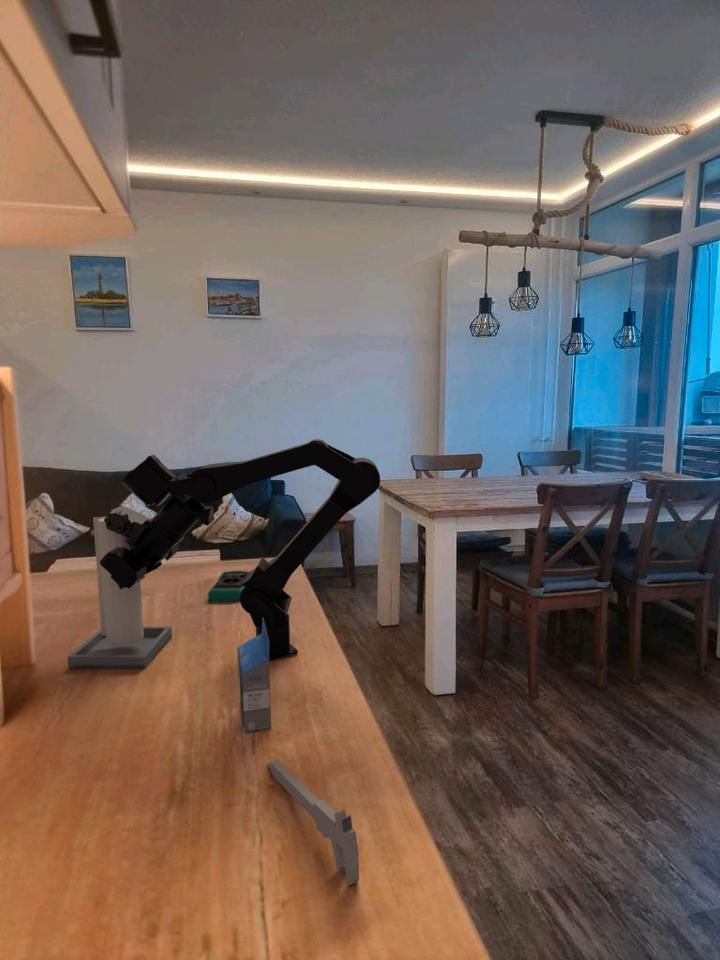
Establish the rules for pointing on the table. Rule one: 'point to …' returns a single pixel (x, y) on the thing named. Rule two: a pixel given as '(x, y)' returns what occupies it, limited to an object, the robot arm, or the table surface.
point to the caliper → (324, 822)
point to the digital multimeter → (228, 586)
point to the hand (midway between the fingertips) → (112, 588)
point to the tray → (120, 651)
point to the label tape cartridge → (255, 683)
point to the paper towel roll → (116, 593)
